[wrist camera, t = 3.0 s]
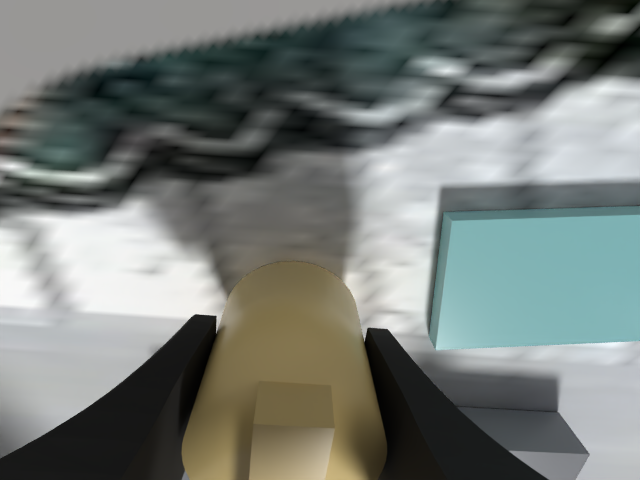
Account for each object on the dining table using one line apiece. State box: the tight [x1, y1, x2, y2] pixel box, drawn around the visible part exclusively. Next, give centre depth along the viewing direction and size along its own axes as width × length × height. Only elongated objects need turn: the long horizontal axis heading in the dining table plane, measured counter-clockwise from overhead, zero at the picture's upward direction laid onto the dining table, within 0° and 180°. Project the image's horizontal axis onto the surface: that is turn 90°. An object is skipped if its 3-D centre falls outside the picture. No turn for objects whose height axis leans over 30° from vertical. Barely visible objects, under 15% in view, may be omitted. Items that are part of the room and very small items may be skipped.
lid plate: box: [429, 206, 640, 350], centre depth 14 cm, size 8×5×1 cm, turn 91°
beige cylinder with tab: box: [182, 261, 387, 480], centre depth 10 cm, size 4×4×6 cm
